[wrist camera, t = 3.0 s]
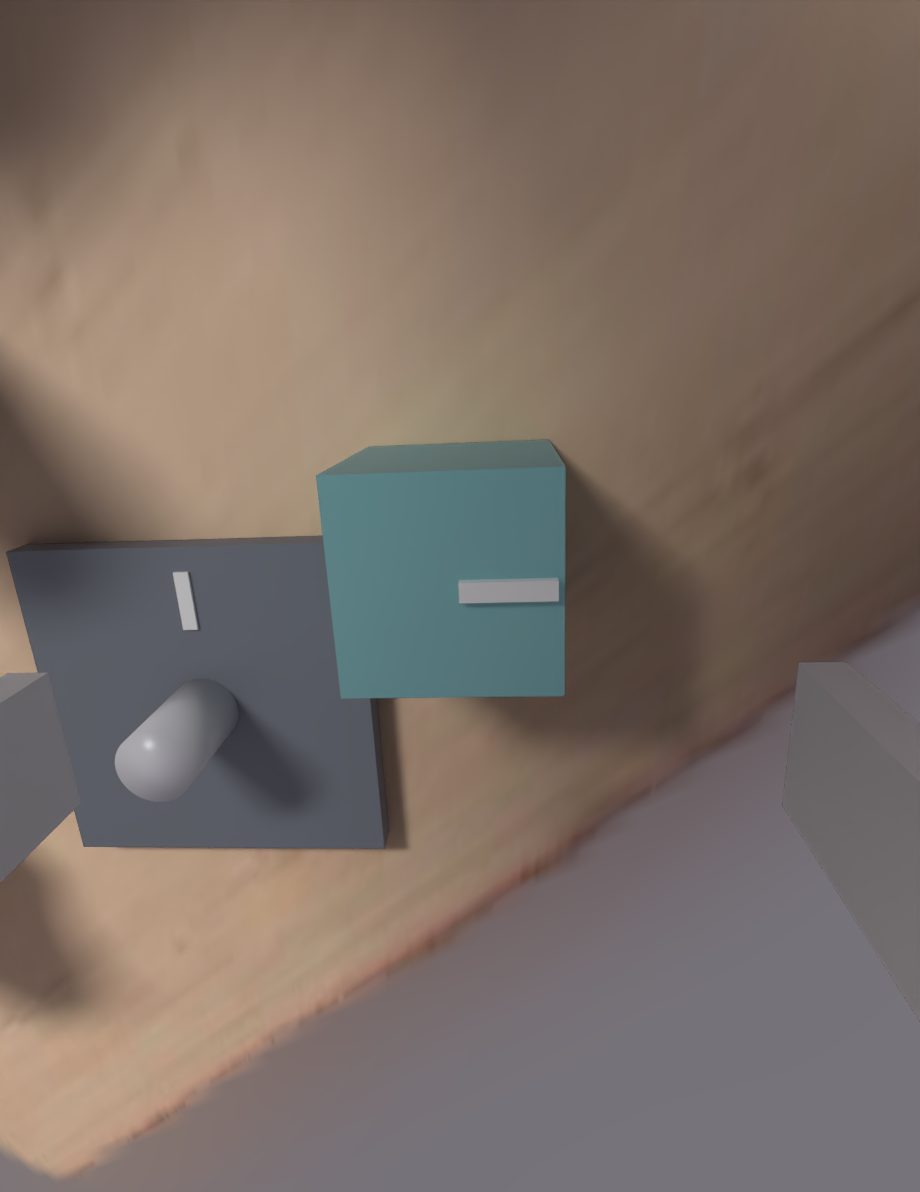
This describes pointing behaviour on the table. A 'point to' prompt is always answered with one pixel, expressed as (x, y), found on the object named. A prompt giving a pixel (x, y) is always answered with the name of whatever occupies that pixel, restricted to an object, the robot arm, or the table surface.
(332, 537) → the teal drawer cabinet
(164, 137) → the table surface
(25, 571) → the shaft base
